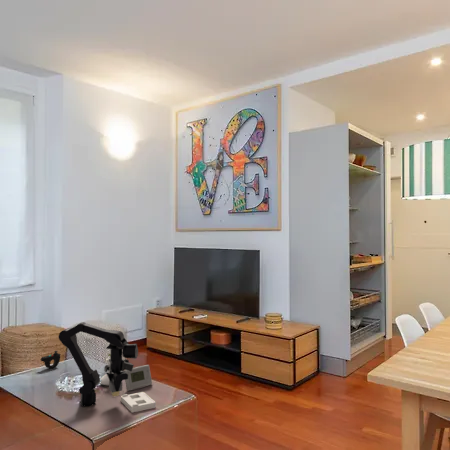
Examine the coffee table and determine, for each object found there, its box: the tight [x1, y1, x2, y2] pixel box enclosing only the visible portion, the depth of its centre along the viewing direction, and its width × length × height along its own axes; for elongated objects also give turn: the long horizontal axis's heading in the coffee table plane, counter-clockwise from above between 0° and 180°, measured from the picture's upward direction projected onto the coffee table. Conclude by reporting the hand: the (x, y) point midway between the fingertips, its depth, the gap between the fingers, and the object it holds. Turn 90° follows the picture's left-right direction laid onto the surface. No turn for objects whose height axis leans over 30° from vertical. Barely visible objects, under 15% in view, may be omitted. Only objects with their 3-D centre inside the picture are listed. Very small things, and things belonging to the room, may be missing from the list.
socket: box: [120, 391, 157, 413], centre depth 206 cm, size 12×16×3 cm
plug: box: [108, 381, 123, 398], centre depth 205 cm, size 5×5×7 cm
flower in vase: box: [100, 353, 110, 386], centre depth 236 cm, size 13×11×25 cm
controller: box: [40, 350, 62, 370], centre depth 260 cm, size 4×12×10 cm, turn 145°
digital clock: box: [124, 364, 153, 392], centre depth 231 cm, size 16×9×11 cm, turn 123°
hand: (115, 389), depth 205 cm, fingers closed on plug, 5 cm apart
